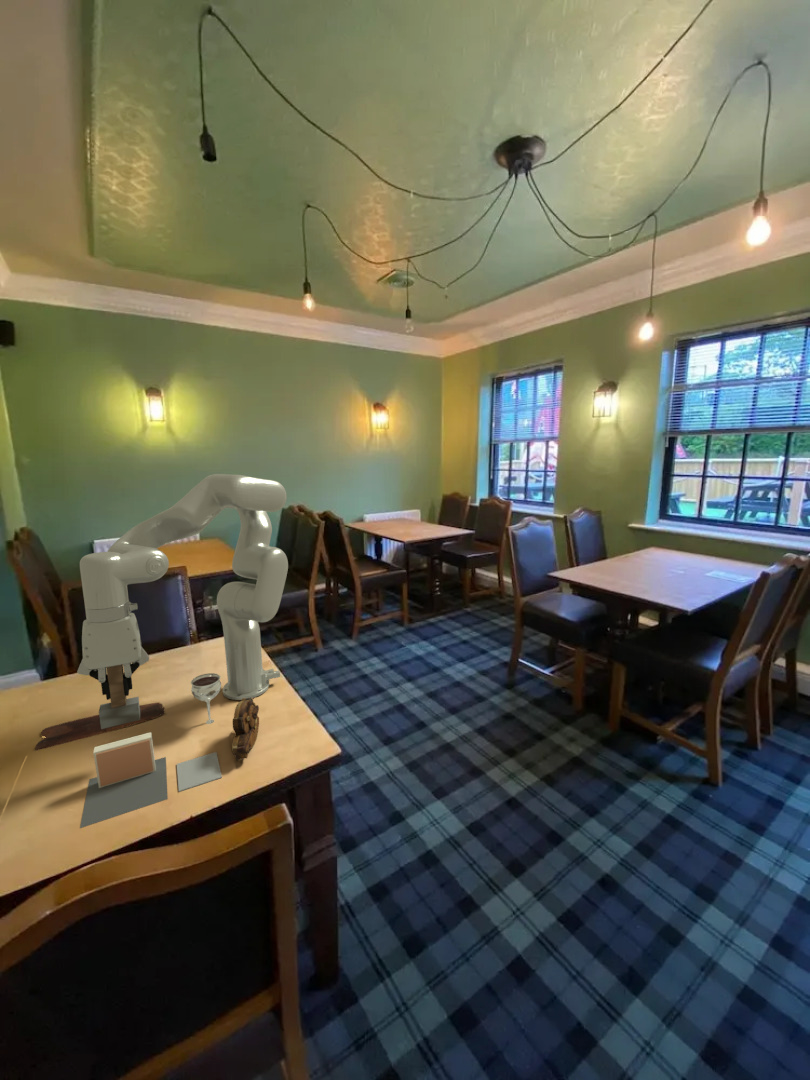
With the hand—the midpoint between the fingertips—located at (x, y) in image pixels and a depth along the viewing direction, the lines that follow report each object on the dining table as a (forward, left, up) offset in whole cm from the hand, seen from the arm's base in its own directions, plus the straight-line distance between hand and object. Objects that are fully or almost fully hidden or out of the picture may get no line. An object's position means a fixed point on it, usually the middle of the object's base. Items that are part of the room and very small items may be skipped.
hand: (118, 694), depth 95 cm
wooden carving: (-24, +7, -17) cm, 30 cm away
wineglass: (-17, -6, -16) cm, 25 cm away
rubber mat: (0, +10, -16) cm, 19 cm away
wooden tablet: (+6, -19, -17) cm, 26 cm away
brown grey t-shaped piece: (0, 0, -6) cm, 6 cm away
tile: (0, +6, -16) cm, 17 cm away
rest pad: (-13, +12, -16) cm, 24 cm away
